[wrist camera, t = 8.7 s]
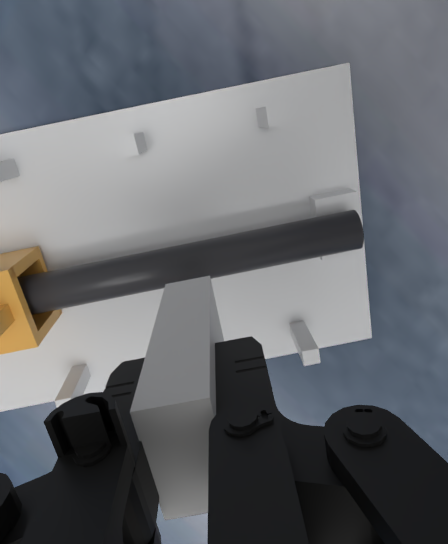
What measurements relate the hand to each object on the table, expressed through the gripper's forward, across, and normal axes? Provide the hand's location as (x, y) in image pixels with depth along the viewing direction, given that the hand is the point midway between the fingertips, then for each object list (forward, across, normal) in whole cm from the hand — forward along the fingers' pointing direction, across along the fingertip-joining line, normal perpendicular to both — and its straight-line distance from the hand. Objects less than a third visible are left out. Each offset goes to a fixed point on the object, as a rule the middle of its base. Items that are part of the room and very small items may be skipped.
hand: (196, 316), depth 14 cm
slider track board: (+9, +5, 0) cm, 10 cm away
